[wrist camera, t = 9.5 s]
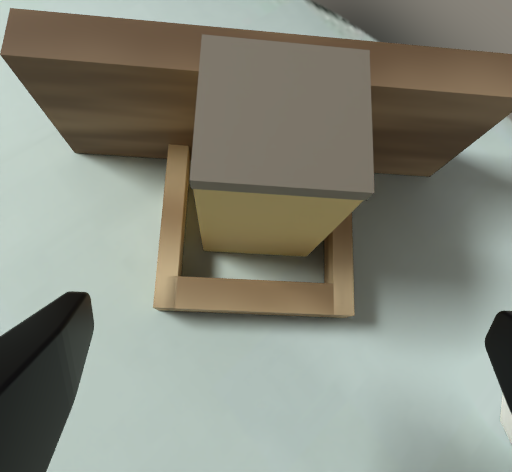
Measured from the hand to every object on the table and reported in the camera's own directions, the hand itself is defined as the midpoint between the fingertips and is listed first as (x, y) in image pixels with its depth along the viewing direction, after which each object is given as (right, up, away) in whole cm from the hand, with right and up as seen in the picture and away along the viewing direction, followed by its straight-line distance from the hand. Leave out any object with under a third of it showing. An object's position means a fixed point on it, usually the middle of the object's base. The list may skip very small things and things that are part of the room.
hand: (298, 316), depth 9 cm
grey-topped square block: (-1, +3, +14) cm, 14 cm away
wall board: (-1, +2, +13) cm, 14 cm away
